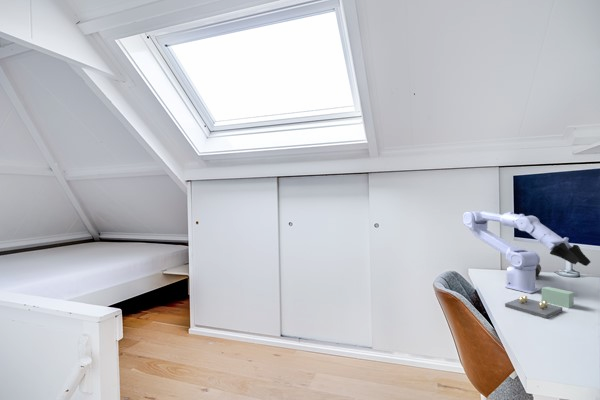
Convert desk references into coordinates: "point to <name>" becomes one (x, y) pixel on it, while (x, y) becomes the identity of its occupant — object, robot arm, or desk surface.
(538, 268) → the end cap
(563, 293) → the board block
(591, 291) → the desk surface
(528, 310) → the plate
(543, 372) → the desk surface
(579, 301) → the desk surface
